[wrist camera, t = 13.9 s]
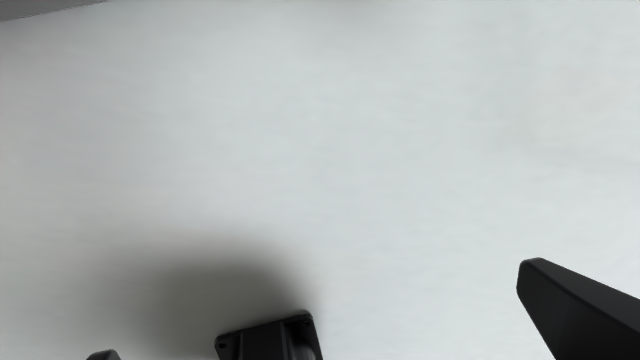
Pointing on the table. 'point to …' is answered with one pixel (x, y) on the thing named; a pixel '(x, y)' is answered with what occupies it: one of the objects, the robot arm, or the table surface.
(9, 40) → the table surface
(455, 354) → the table surface
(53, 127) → the table surface
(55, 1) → the housing
